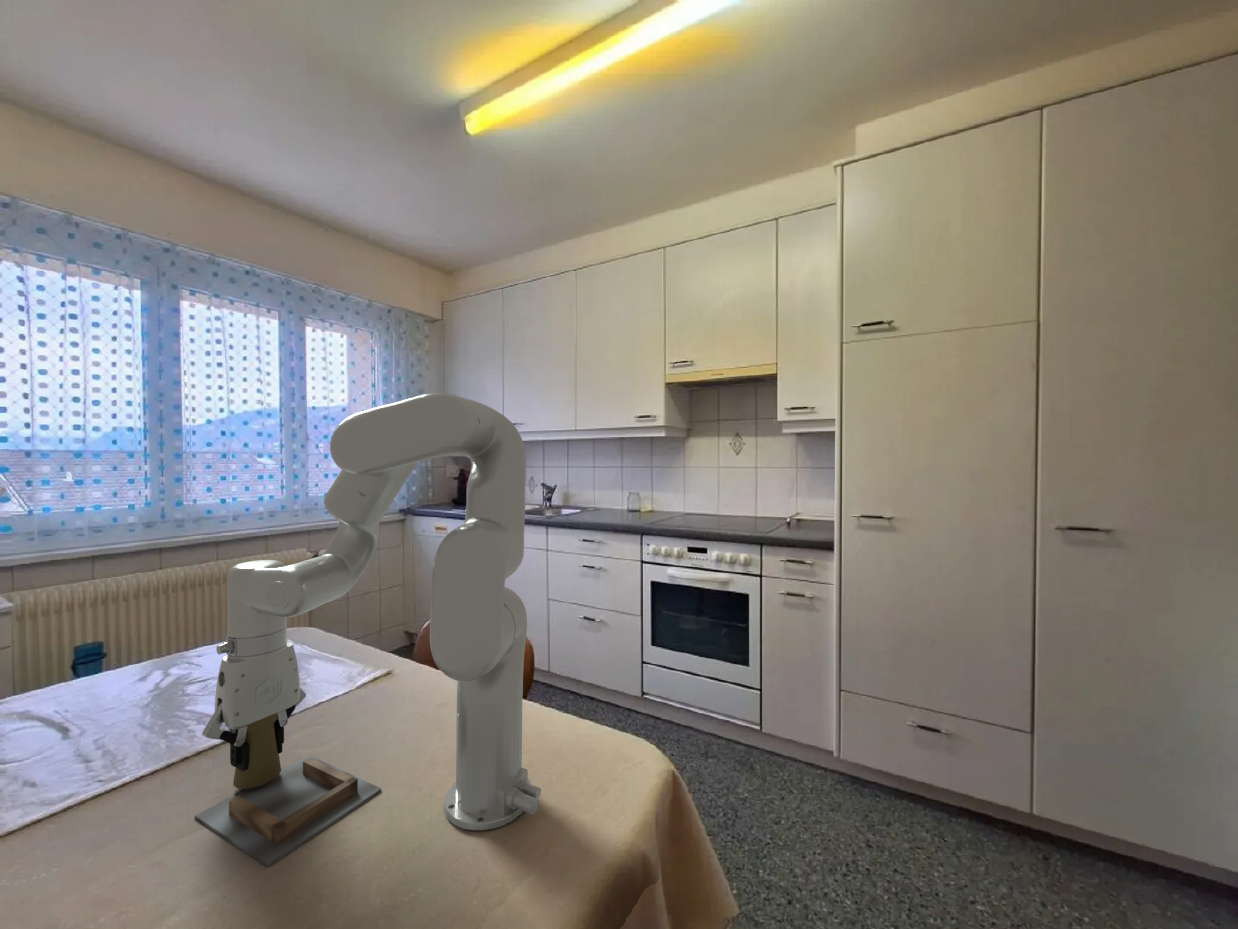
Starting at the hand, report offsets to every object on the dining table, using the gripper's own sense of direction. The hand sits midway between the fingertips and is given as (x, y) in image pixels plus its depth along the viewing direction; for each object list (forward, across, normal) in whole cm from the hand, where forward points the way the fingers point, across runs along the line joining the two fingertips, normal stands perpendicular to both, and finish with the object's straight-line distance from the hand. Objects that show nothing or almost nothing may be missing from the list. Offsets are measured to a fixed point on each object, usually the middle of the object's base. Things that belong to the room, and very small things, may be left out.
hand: (258, 758), depth 77 cm
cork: (+3, 0, 0) cm, 3 cm away
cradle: (+4, 0, -10) cm, 11 cm away
